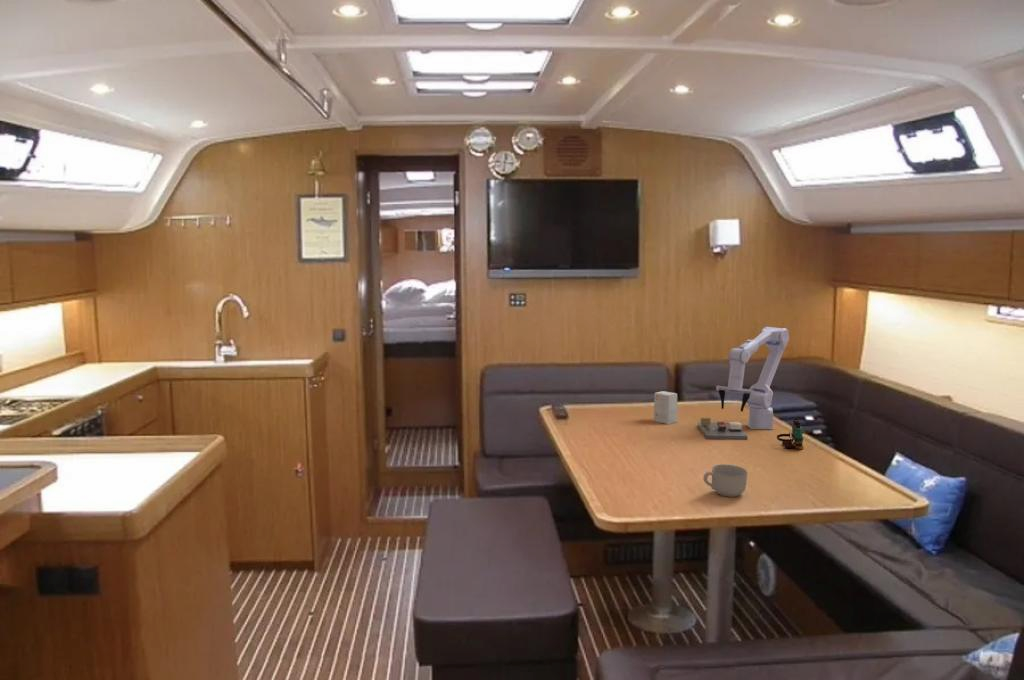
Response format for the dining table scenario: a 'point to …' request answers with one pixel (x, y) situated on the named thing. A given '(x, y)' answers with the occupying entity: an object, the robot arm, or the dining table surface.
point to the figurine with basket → (793, 436)
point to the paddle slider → (704, 420)
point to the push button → (735, 425)
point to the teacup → (727, 479)
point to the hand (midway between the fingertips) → (732, 410)
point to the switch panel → (721, 432)
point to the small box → (665, 407)
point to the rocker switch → (721, 425)
